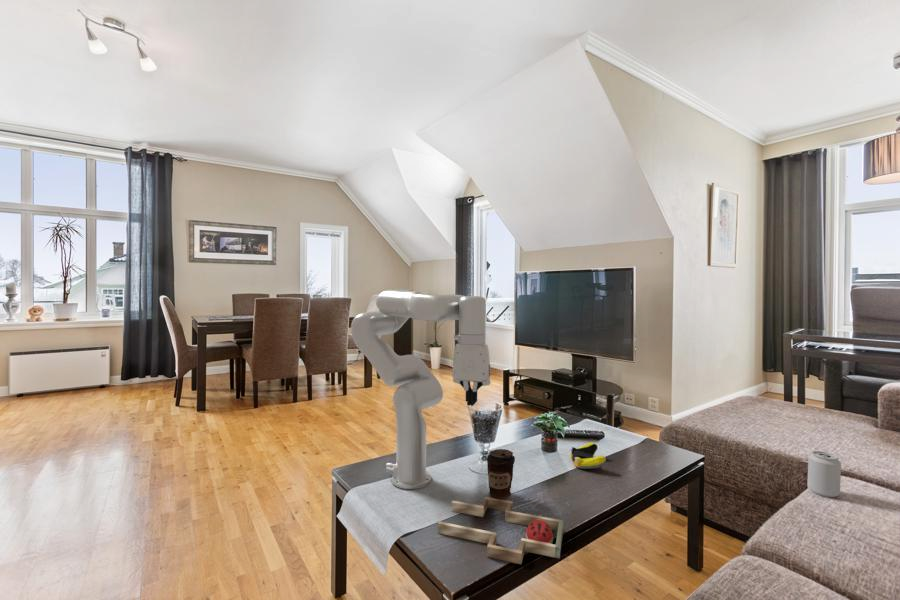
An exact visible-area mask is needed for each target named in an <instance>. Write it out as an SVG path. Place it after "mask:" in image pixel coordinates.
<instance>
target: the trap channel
mask: <svg viewBox="0 0 900 600" xmlns="http://www.w3.org/2000/svg"><path fill="white" fill-rule="evenodd" d="M513 505H514V501H512V500H511V501H510V500H507V499H505V500H500V499H495V498H492V497H490V496H488V497H487V496H484V498H483V499H482V502H481V504H480V505H479V504H474V503H469V502H463V501H459V500H452V501H451V512H455V513H459V514H466V515H469V516H470V515H471V516H476V517H481V518H484V516H485V514H486V512H487V511H488V509H493V510H497V511H504V522H508V523H512V524H519V525H523V526H529V525H530V524H531V523H532V522H533V521H534V520H537V519H540V520H543V521H545V522H546V523H547V524H548V526H549V527H550V529H551V531H555V532H557V533H556V541H555V544H553V543H552V544H550V543H545V542H540V541H535V540H530V539H526V537H521V539H520V542H519V546H518V548H517V549H514V548H508V547H504V546H499V545H497V544H498V538H497V537H498V533H497V532H494V531H490V530H484V529H481V528H480V529H479V528H474V527H469V526H464V525H459V524H455V523H449V522H445V521H438V522H437V533H438V534H440V535H441V534H442V535H444V536H445V535H446V536H450V537H453V538H454V537H456V538H461V539H464V540H470V541H474V542H479V543H484V544H487V546H486V558H491V559H495V560H500V561H502V562H503V561H504V562H508V563H512V564H518V565H522V563H523V559H524V556H525V552H527V553H532V554H536V555H541V556H546V557H550V558H553V559H559V560H560V558H561V550H562V542H563V535H564V520H563V519H558V518H557V519H556V518H553V517H552V518H551V517H546V516H539V515H534V514H530V513H523V512H518V511H513V509H514V508H513V507H514V506H513Z"/></svg>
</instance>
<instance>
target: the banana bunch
mask: <svg viewBox="0 0 900 600" xmlns="http://www.w3.org/2000/svg"><path fill="white" fill-rule="evenodd" d="M569 448H570V460H572V462H573V466H575V467H577V468H578V469H582V470H583V469H585V470H586V469H589V470H590V469H599V468H601V467H602V466H603V465H604V464H605V463H606V462H607V459H606V456H603V455H597V456H594V455H595V453H596V452H597V451H598V444H597V443H595V442H588V443H586V444H584V445H583V446H580V447H578V448H577V447H573V446H572V447H569Z"/></svg>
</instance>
